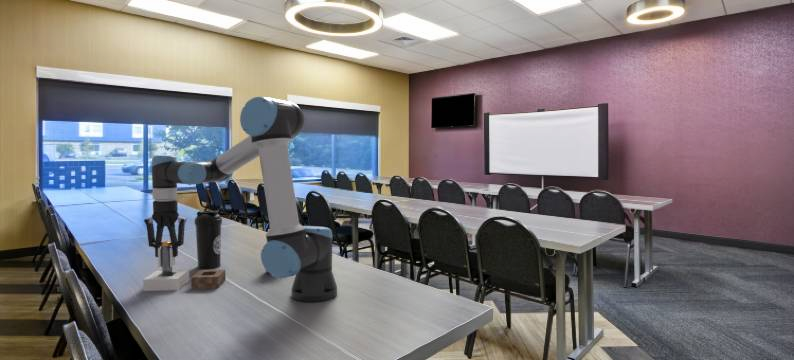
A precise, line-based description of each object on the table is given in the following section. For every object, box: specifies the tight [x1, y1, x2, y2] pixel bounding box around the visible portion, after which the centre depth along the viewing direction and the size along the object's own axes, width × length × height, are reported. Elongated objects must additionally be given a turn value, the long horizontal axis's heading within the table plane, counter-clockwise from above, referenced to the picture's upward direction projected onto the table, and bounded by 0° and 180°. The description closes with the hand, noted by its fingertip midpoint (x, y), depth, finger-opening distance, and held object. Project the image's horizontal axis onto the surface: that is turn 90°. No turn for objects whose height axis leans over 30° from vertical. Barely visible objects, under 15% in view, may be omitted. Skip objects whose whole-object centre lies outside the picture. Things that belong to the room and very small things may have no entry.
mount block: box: [190, 269, 226, 290], centre depth 150 cm, size 9×9×4 cm
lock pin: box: [161, 240, 173, 276], centre depth 148 cm, size 3×3×14 cm
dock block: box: [142, 269, 190, 292], centre depth 148 cm, size 11×11×4 cm
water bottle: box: [194, 210, 223, 270], centre depth 172 cm, size 10×10×23 cm
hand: (166, 265), depth 148 cm, fingers closed on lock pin, 3 cm apart
